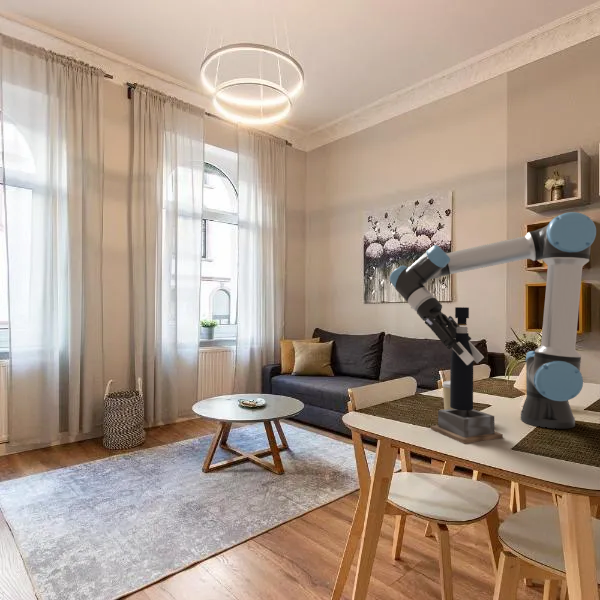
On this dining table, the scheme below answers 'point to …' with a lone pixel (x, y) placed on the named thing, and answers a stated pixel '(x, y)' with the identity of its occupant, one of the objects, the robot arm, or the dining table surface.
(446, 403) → the coffee cup
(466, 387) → the wine bottle
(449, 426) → the collar stand
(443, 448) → the dining table surface
